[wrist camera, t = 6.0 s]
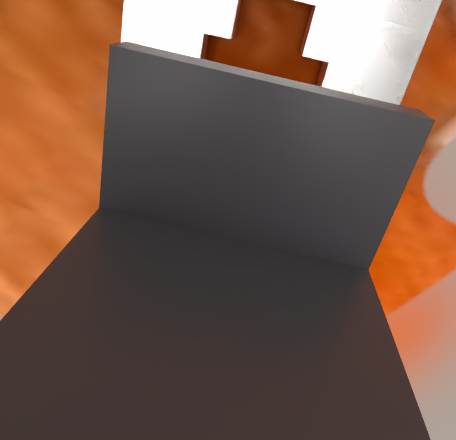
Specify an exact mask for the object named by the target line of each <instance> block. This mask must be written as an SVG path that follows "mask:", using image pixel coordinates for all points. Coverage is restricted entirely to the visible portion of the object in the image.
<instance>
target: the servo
mask: <svg viewBox="0 0 456 440" xmlns="http://www.w3.org/2000/svg"><path fill="white" fill-rule="evenodd" d="M434 121H435V120H433V119H432V118H430V117H429V116H427V115H426V114H424V113H423V112H422V111H420V110H419V109H414V108H410V107H406V106H401V105H397V104H393V103H389V102H384V101H380V100H376V99H371V98H367V97H363V96H359V95H354V94H350V93H346V92H341V91H337V90H333V89H329V88H324V87H320V86H316V85H311V84H307V83H303V82H299V81H294V80H290V79H286V78H282V77H277V76H273V75H269V74H264V73H260V72H256V71H252V70H247V69H243V68H239V67H234V66H230V65H226V64H222V63H217V62H213V61H209V60H204V59H200V58H196V57H192V56H187V55H183V54H179V53H174V52H170V51H166V50H162V49H157V48H153V47H149V46H144V45H140V44H136V43H132V42H127V41H126V42H121V43H116V44H112V45H110V53H109V69H108V84H107V99H106V114H105V129H104V144H103V159H102V174H101V189H100V204H99V209H98V210H97V211H96V212H95V213H94V214H93V216H92V217H91V218H90V219H89V220H88V221H87V222H86V224H85V225H84V226H83V227H82V228H81V229H80V230H79V232H78V233H77V234H76V235H75V236H74V237H73V238H72V240H71V241H70V242H69V243H68V244H67V245H66V246H65V248H64V249H63V250H62V251H61V252H60V253H59V254H58V256H57V257H56V258H55V259H54V260H53V261H52V262H51V264H50V265H49V266H48V267H47V268H46V269H45V270H44V272H43V273H42V274H41V275H40V276H39V277H38V278H37V280H36V281H35V282H34V283H33V284H32V285H31V286H30V288H29V289H28V290H27V291H26V292H25V293H24V294H23V296H22V297H21V298H20V299H19V300H18V301H17V302H16V304H15V305H14V306H13V307H12V308H11V309H10V310H9V312H8V313H7V314H6V315H5V316H4V317H3V318H2V320H1V321H0V440H430V437H429V434H428V431H427V429H426V426H425V423H424V420H423V418H422V415H421V412H420V410H419V407H418V404H417V401H416V399H415V396H414V393H413V390H412V388H411V385H410V382H409V379H408V377H407V374H406V371H405V369H404V366H403V363H402V361H401V358H400V355H399V352H398V349H397V347H396V344H395V341H394V338H393V336H392V333H391V330H390V328H389V325H388V322H387V319H386V317H385V314H384V311H383V308H382V306H381V303H380V300H379V298H378V295H377V292H376V289H375V287H374V284H373V281H372V278H371V276H370V273H369V270H368V269H369V267H370V265H371V263H372V260H373V258H374V256H375V254H376V251H377V249H378V247H379V245H380V242H381V240H382V238H383V236H384V233H385V231H386V229H387V227H388V225H389V222H390V220H391V218H392V216H393V213H394V211H395V209H396V207H397V204H398V202H399V200H400V198H401V195H402V193H403V191H404V189H405V186H406V184H407V182H408V180H409V177H410V175H411V173H412V171H413V168H414V166H415V164H416V162H417V160H418V157H419V155H420V153H421V151H422V148H423V146H424V144H425V142H426V139H427V137H428V135H429V133H430V130H431V128H432V126H433V124H434Z"/></svg>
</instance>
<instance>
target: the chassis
mask: <svg viewBox="0 0 456 440" xmlns="http://www.w3.org/2000/svg"><path fill="white" fill-rule="evenodd" d="M241 1H242V0H124V6H123V19H122V32H121V42H126V41H127V42H132V43H136V44H140V45H144V46H149V47H153V48H157V49H162V50H166V51H170V52H174V53H179V54H183V55H187V56H192V57H196V58H200V59H204V60H205V57H206V51H207V46H208V40H209V34H210V35H215V36H219V37H223V38H227V39H232V38H233V37H234V36H235V31H236V26H237V21H238V16H239V11H240V6H241ZM291 1H296V2H300V3H304V4H308V5H312V8H311V12H310V15H309V19H308V23H307V27H306V30H305V34H304V38H303V41H302V45H301V49H300V53H301V55H302V56H304V57H308V58H313V59H317V60H321V61H323V63H322V66H321V69H320V73H319V76H318V79H317V83H316V86H320V87H324V88H329V89H333V90H337V91H341V92H346V93H350V94H354V95H359V96H363V97H367V98H371V99H376V100H380V101H384V102H389V103H393V104H397V105H400V103H401V100H402V98H403V96H404V93H405V91H406V88H407V86H408V83H409V81H410V78H411V76H412V73H413V71H414V68H415V66H416V63H417V61H418V58H419V56H420V53H421V51H422V48H423V46H424V43H425V41H426V38H427V36H428V33H429V31H430V28H431V26H432V23H433V21H434V18H435V16H436V13H437V11H438V8H439V6H440V3H441V1H442V0H291Z"/></svg>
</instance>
